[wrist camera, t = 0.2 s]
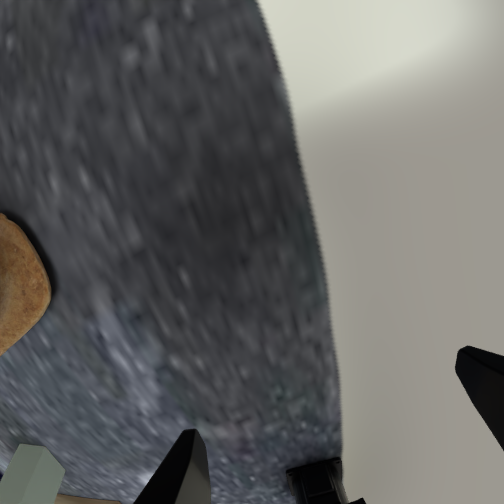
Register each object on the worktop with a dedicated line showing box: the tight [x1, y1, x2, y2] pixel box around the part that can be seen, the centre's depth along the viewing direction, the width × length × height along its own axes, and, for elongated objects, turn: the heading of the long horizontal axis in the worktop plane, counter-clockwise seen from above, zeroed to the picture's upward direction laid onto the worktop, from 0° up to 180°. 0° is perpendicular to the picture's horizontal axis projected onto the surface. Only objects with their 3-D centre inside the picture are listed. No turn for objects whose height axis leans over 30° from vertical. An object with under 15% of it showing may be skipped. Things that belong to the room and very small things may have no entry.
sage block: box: [0, 444, 66, 504], centre depth 21 cm, size 5×5×14 cm
